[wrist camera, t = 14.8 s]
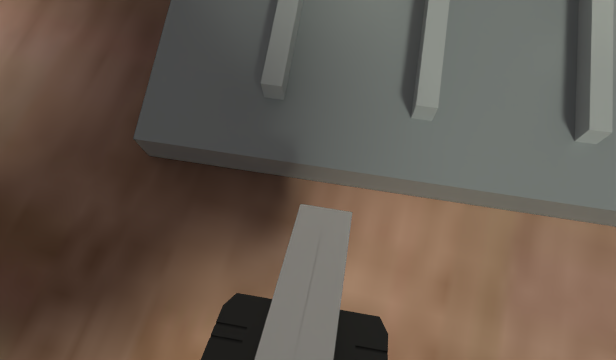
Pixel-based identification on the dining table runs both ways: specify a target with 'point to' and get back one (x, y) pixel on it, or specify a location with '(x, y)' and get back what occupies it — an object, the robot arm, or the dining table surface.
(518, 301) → the dining table surface
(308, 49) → the switch bank
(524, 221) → the dining table surface
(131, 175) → the dining table surface
